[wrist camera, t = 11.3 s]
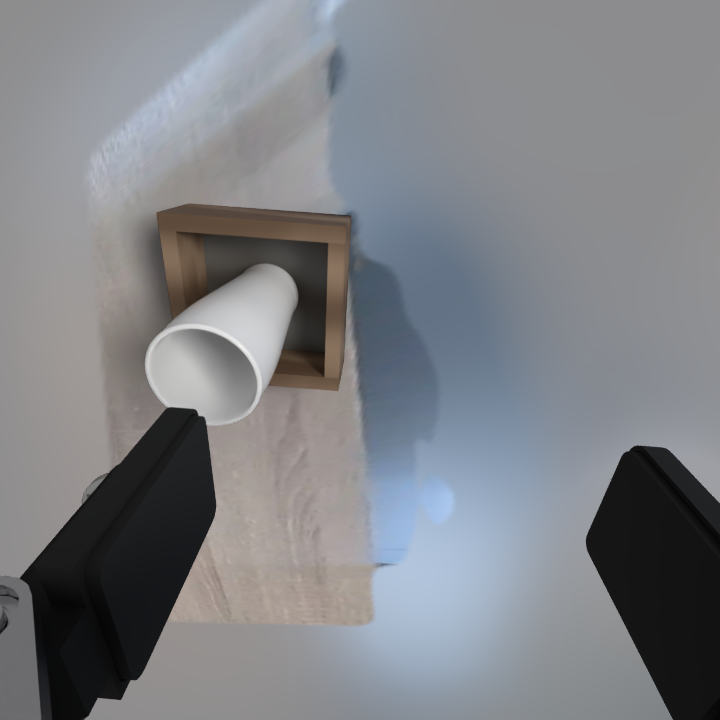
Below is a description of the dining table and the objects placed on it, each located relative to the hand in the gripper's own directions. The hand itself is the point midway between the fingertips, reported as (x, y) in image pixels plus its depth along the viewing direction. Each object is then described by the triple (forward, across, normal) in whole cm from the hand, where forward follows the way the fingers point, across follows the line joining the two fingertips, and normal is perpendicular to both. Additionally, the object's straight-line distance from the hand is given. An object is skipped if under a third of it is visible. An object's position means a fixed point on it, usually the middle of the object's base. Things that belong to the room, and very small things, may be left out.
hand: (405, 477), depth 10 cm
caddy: (+28, +10, +5) cm, 30 cm away
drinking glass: (+28, +10, +5) cm, 30 cm away
